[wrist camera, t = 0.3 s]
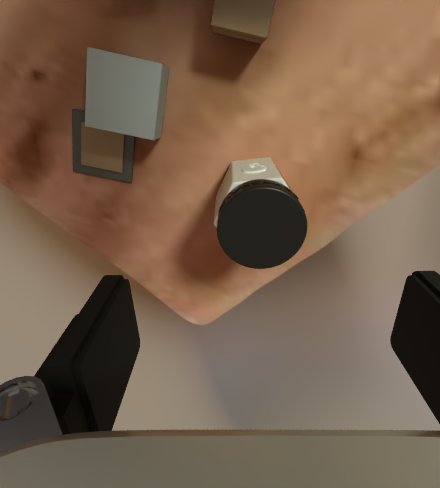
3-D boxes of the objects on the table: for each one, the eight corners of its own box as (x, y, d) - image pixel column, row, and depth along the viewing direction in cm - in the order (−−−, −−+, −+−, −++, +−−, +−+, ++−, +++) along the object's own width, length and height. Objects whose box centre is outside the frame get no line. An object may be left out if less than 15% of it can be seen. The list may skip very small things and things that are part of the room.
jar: (289, 152, 37) (313, 180, 26) (290, 217, 41) (312, 265, 30) (212, 161, 38) (206, 191, 27) (220, 224, 41) (217, 273, 30)
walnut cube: (223, -30, 30) (222, -50, 25) (275, -17, 30) (283, -35, 26) (213, 32, 32) (210, 24, 28) (261, 44, 32) (267, 37, 28)
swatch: (73, 109, 35) (71, 109, 35) (136, 122, 36) (134, 122, 35) (74, 170, 39) (71, 171, 38) (131, 182, 39) (130, 183, 38)
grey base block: (102, 53, 33) (87, 46, 29) (169, 68, 33) (162, 63, 30) (99, 124, 36) (84, 125, 32) (161, 137, 36) (153, 140, 32)
